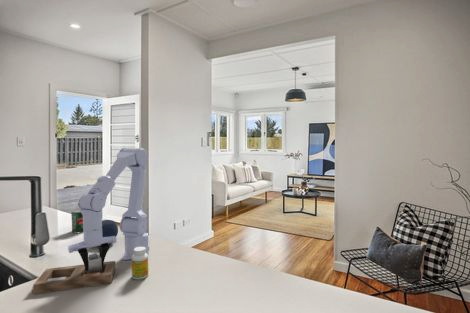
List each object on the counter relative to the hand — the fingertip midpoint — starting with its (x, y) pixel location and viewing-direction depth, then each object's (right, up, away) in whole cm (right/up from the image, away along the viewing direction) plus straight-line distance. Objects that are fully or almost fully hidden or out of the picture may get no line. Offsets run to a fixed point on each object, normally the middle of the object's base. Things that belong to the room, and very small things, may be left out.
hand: (94, 267), depth 95 cm
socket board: (-5, -4, -1) cm, 6 cm away
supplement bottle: (+15, -4, +2) cm, 16 cm away
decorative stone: (-12, -2, +32) cm, 34 cm away
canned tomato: (-33, -1, +51) cm, 61 cm away
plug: (0, -3, 0) cm, 3 cm away
